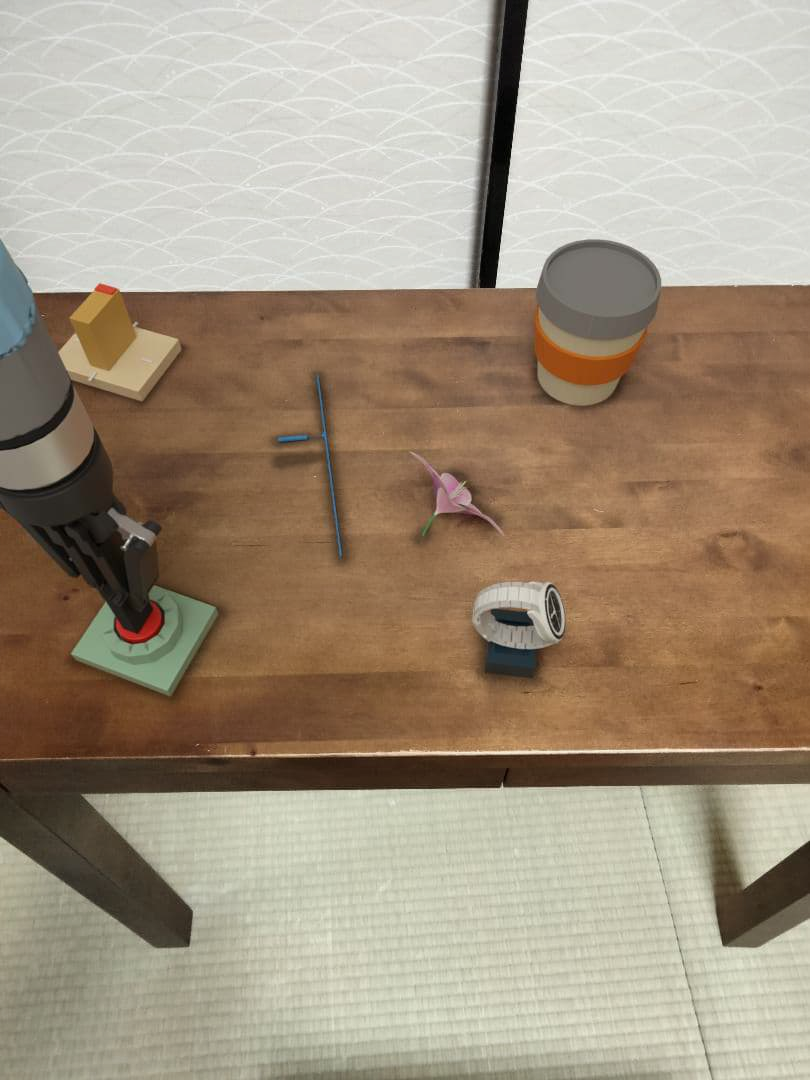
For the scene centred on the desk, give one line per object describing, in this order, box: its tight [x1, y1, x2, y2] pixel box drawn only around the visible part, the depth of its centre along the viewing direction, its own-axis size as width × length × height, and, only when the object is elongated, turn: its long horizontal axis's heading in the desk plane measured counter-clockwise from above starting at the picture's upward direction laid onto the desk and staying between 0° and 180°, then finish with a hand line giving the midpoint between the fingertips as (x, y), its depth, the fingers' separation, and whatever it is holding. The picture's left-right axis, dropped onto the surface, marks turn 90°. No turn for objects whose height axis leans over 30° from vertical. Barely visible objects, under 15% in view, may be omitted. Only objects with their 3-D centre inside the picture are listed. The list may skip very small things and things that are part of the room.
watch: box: [471, 580, 566, 679], centre depth 72 cm, size 6×8×11 cm
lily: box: [409, 451, 506, 538], centre depth 81 cm, size 12×12×10 cm
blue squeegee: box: [277, 374, 343, 558], centre depth 88 cm, size 1×25×5 cm
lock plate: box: [58, 321, 183, 402], centre depth 95 cm, size 12×10×3 cm
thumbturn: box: [69, 282, 136, 371], centre depth 91 cm, size 6×2×7 cm, turn 159°
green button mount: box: [70, 584, 219, 697], centre depth 75 cm, size 10×9×4 cm
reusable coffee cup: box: [533, 238, 662, 406], centre depth 89 cm, size 13×12×15 cm
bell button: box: [116, 601, 165, 644], centre depth 74 cm, size 4×4×2 cm
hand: (138, 618), depth 73 cm, fingers closed
